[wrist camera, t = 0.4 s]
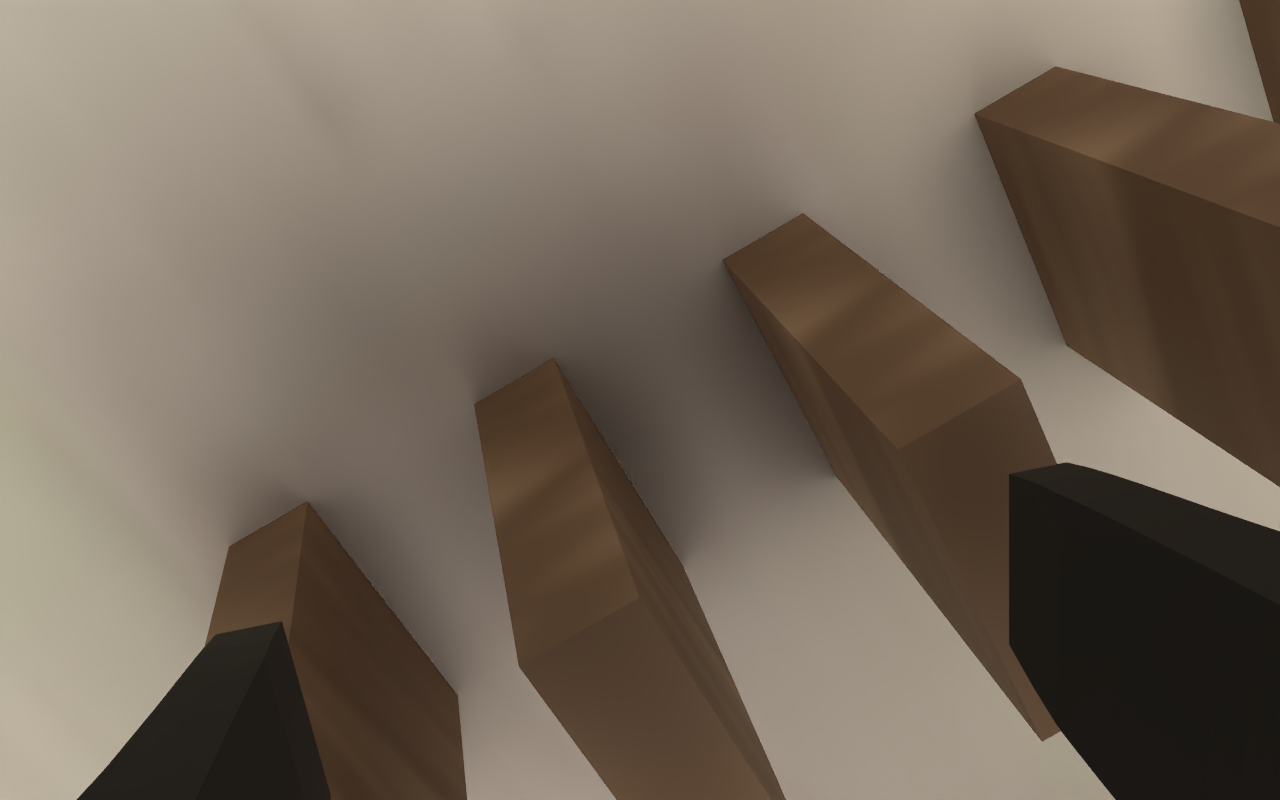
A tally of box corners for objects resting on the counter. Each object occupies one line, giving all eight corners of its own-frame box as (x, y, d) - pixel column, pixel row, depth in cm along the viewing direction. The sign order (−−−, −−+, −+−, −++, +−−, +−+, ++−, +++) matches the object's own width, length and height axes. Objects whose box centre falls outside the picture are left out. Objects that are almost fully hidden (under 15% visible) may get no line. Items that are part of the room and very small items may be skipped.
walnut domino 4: (1056, 66, 21) (1409, 156, 14) (1141, 303, 23) (1486, 491, 16) (974, 113, 21) (1283, 228, 14) (1067, 346, 23) (1378, 551, 16)
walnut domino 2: (553, 358, 21) (640, 597, 14) (682, 566, 23) (816, 868, 16) (474, 404, 21) (519, 667, 14) (610, 607, 23) (711, 928, 16)
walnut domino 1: (306, 501, 21) (266, 811, 14) (458, 695, 23) (489, 1052, 16) (228, 546, 21) (148, 879, 14) (386, 736, 24) (386, 1111, 16)
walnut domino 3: (803, 213, 21) (1020, 378, 14) (911, 435, 23) (1149, 680, 16) (723, 259, 21) (898, 450, 14) (837, 477, 23) (1041, 741, 16)
